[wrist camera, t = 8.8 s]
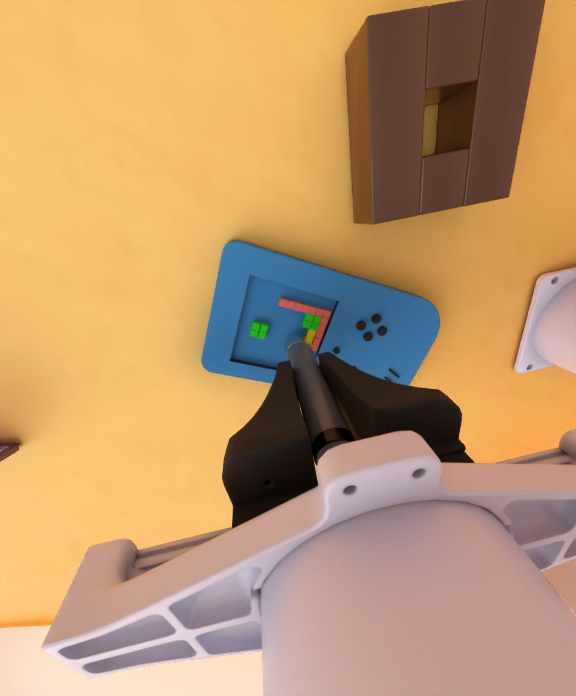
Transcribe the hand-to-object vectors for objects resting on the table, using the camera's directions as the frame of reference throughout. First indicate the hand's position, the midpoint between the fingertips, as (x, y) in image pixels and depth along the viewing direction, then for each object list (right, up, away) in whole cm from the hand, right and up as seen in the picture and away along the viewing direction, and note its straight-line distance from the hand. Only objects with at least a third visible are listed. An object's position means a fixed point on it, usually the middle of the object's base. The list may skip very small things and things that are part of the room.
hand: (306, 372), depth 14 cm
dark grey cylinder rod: (0, +1, +3) cm, 3 cm away
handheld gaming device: (+2, +2, +4) cm, 5 cm away
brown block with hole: (+6, +12, 0) cm, 14 cm away
